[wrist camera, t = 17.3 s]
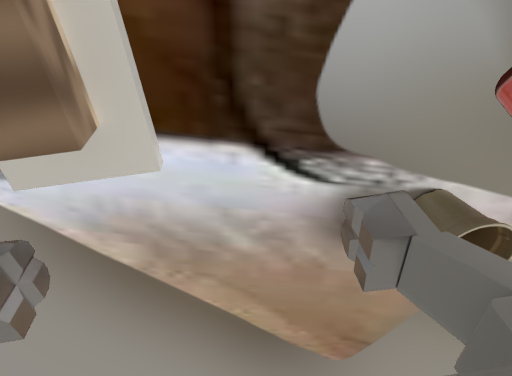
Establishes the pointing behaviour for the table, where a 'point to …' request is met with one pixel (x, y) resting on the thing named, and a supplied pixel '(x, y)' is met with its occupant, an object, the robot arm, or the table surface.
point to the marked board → (98, 105)
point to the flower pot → (466, 222)
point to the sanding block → (39, 85)
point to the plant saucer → (505, 91)
